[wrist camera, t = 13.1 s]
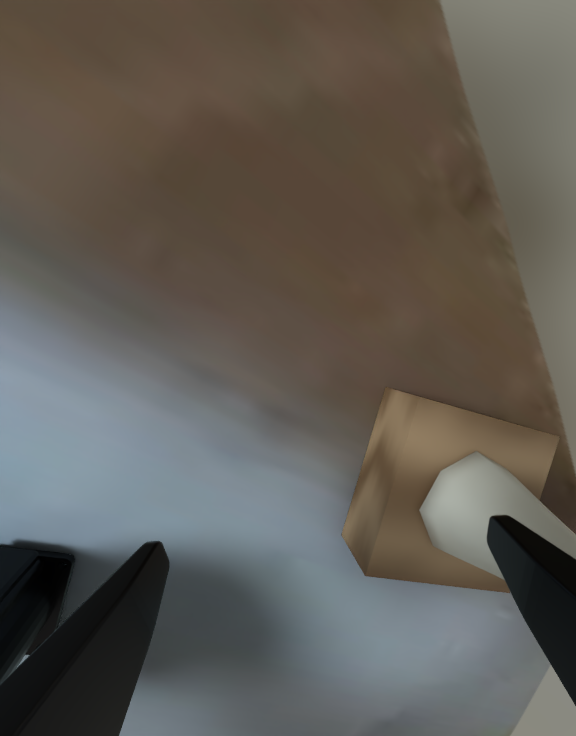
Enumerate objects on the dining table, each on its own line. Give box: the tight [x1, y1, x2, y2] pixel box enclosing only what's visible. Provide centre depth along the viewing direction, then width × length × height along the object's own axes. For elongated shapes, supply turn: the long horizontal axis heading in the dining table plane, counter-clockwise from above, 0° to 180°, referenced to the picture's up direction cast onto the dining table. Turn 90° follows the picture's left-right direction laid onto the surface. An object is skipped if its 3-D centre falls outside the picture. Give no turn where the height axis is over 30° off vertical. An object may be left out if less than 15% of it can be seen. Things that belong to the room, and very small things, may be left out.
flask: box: [419, 451, 576, 579], centre depth 15 cm, size 7×7×10 cm
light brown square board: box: [342, 387, 560, 593], centre depth 22 cm, size 12×12×4 cm
